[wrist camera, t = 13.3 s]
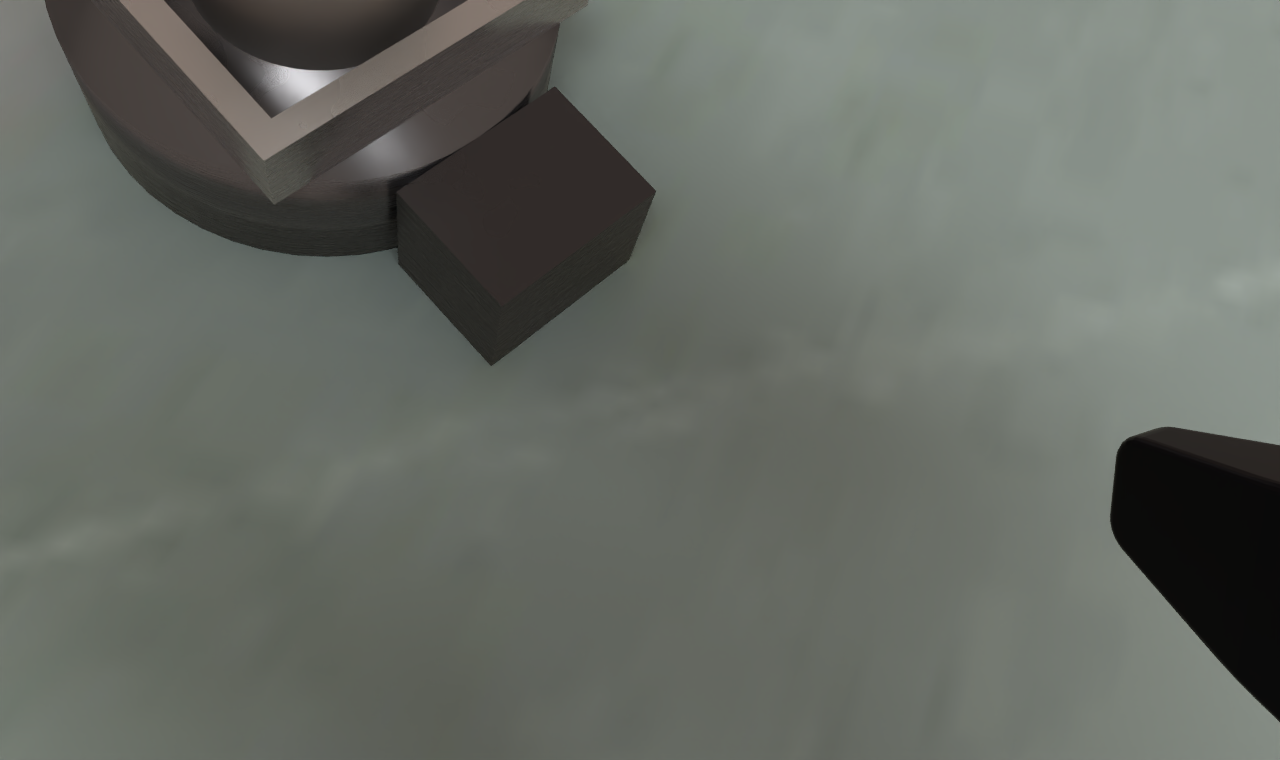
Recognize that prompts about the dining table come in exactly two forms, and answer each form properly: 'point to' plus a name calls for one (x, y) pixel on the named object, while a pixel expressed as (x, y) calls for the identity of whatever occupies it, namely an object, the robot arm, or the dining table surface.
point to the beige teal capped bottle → (315, 28)
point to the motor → (375, 151)
